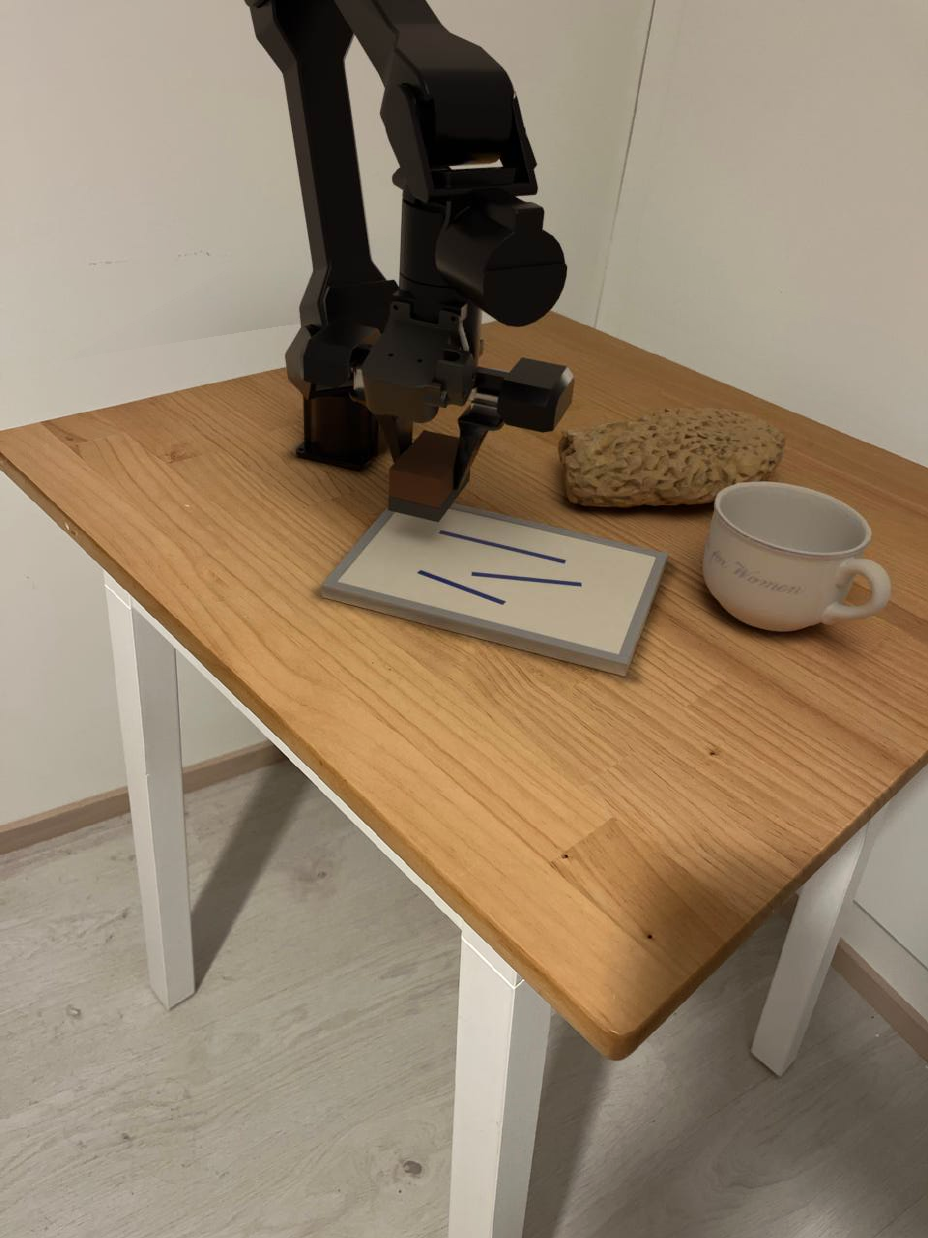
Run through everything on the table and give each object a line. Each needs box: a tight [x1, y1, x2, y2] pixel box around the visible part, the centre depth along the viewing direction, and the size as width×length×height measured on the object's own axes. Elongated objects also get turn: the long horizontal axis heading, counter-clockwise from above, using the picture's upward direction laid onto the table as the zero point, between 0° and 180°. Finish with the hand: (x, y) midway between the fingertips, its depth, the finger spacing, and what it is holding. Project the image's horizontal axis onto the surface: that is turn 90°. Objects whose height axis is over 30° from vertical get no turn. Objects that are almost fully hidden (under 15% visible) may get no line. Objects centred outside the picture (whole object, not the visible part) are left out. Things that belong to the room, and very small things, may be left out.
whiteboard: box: [321, 502, 670, 678], centre depth 79 cm, size 22×15×1 cm
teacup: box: [702, 480, 892, 633], centre depth 75 cm, size 14×11×8 cm
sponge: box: [557, 406, 787, 508], centre depth 91 cm, size 13×8×20 cm
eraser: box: [387, 429, 471, 522], centre depth 80 cm, size 4×7×4 cm, turn 161°
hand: (430, 481), depth 80 cm, fingers closed on eraser, 4 cm apart
